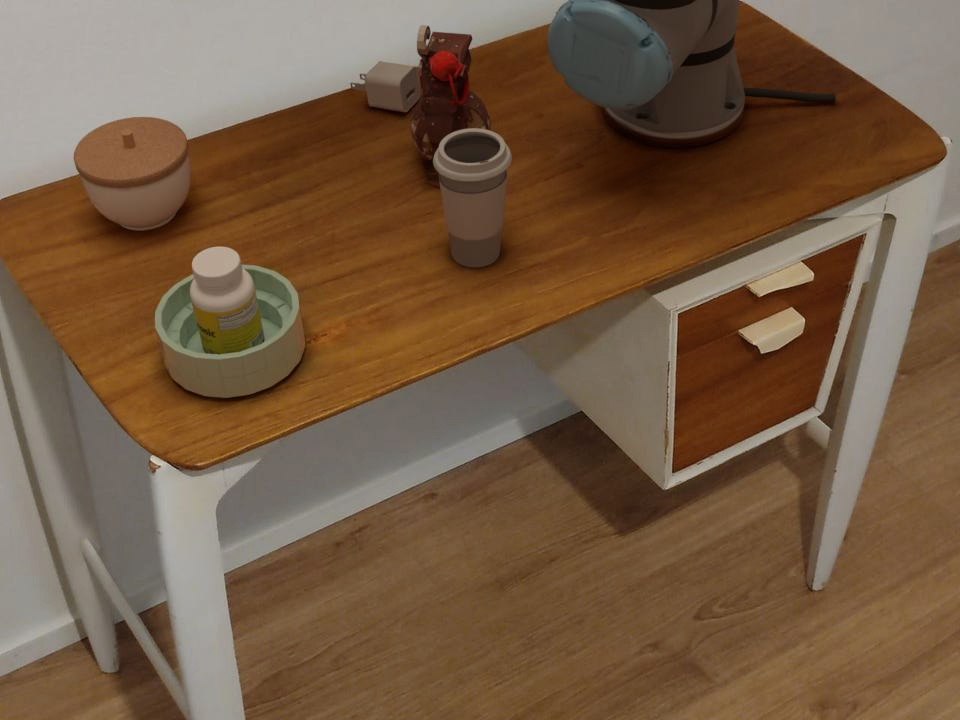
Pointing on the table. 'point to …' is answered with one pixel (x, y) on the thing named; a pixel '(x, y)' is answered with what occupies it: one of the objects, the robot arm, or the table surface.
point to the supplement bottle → (224, 302)
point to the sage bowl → (238, 368)
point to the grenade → (444, 95)
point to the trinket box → (135, 171)
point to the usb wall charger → (391, 86)
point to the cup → (473, 193)
